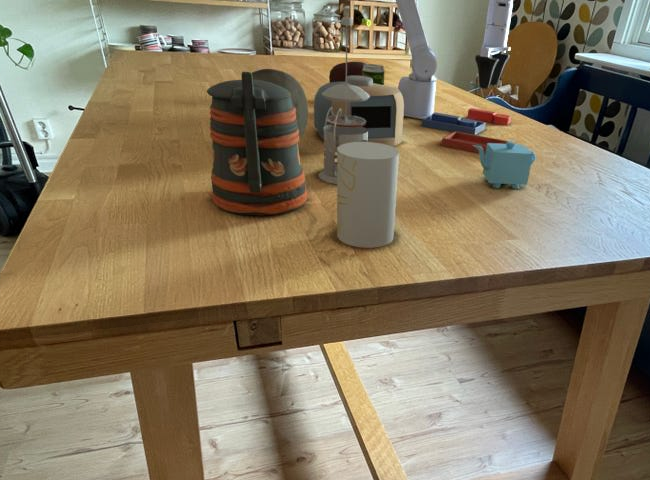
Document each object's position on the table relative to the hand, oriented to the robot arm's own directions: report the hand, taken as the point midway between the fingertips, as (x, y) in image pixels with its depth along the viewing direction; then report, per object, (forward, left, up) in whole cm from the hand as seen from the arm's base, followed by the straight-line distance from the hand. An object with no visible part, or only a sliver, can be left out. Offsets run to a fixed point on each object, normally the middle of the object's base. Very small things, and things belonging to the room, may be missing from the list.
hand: (488, 86), depth 142 cm
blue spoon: (-3, -13, -8) cm, 16 cm away
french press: (-6, -64, -9) cm, 65 cm away
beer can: (-24, -19, -9) cm, 32 cm away
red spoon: (+1, +1, -8) cm, 9 cm away
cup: (+10, -85, -9) cm, 86 cm away
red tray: (+7, -27, -8) cm, 29 cm away
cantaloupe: (-24, -60, -9) cm, 65 cm away
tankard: (-9, -84, -9) cm, 85 cm away
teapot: (+19, -49, -9) cm, 53 cm away
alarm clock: (-18, -37, -9) cm, 42 cm away
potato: (-37, -6, -9) cm, 38 cm away
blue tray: (-4, -13, -8) cm, 16 cm away
